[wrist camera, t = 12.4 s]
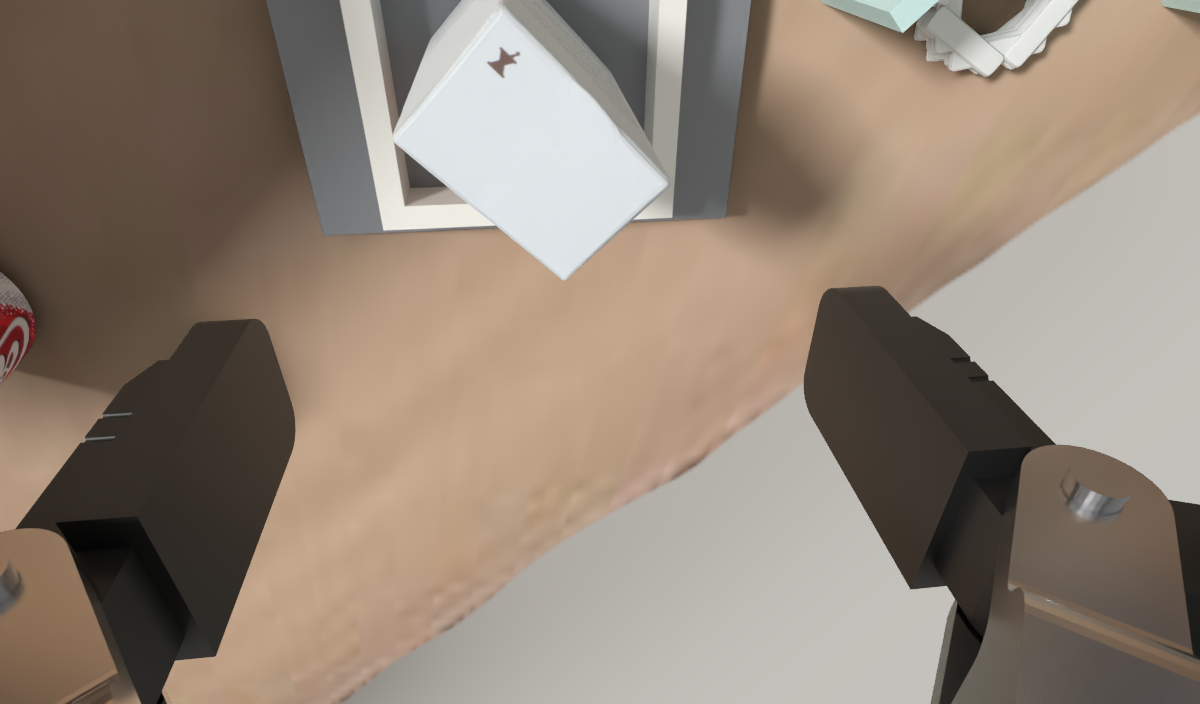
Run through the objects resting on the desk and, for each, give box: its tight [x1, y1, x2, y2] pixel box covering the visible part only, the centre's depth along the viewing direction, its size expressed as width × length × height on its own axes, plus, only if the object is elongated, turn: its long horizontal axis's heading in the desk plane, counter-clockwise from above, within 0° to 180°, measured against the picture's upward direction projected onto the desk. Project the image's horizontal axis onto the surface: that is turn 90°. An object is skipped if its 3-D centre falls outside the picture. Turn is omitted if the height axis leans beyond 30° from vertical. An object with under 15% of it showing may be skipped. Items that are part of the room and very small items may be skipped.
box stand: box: [266, 0, 751, 236], centre depth 26 cm, size 18×14×4 cm
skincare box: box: [393, 0, 670, 281], centre depth 22 cm, size 6×4×12 cm
